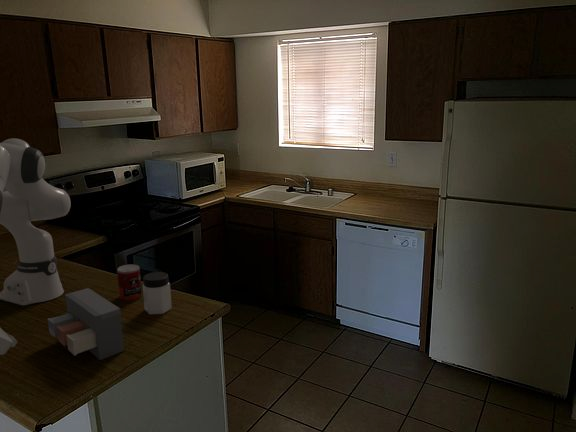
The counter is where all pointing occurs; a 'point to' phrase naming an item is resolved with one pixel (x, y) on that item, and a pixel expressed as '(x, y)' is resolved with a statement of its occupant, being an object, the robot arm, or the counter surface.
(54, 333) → the blue-grey key
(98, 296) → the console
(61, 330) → the brick key
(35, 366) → the counter surface
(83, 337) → the ivory key
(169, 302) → the jar
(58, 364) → the counter surface
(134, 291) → the canned food
